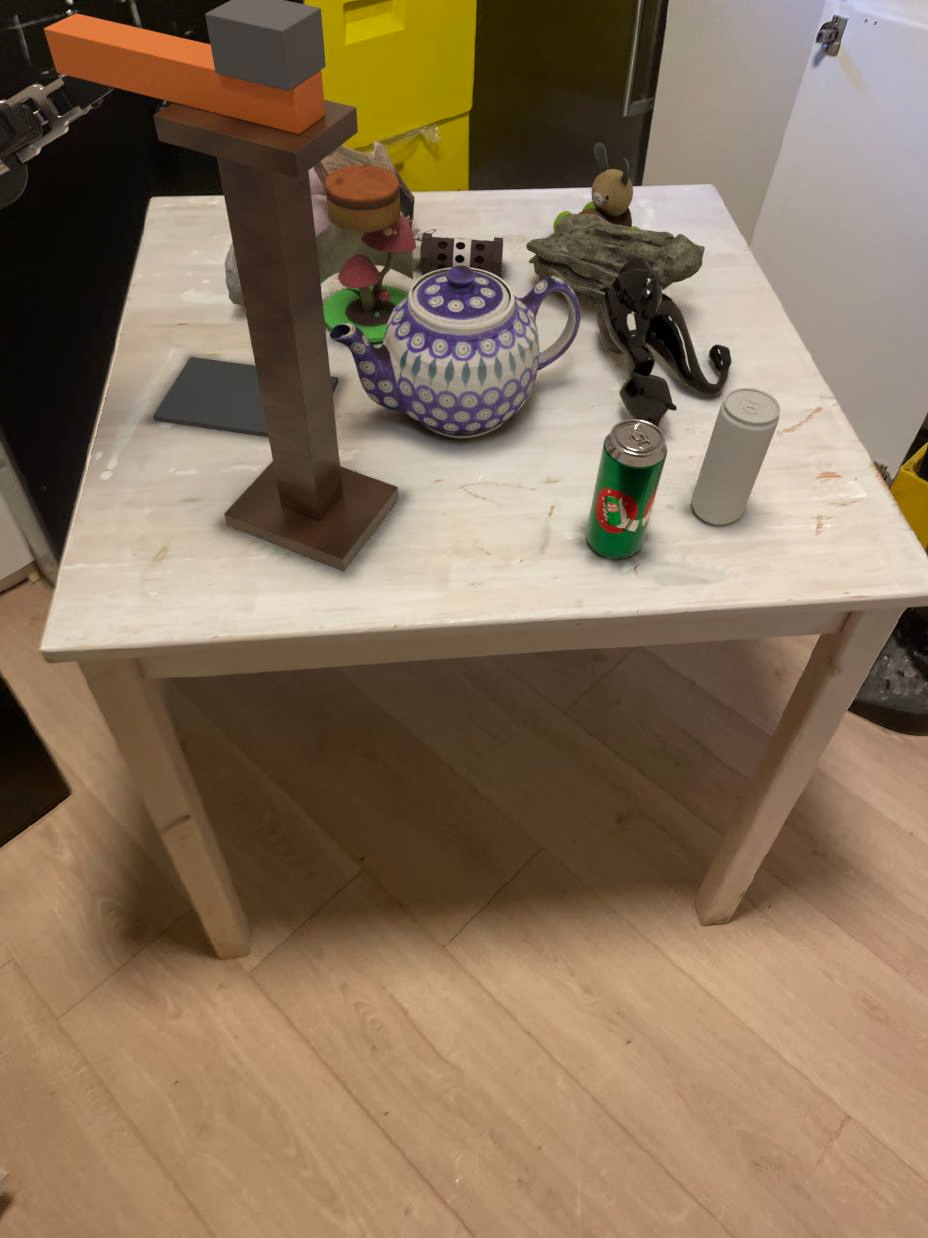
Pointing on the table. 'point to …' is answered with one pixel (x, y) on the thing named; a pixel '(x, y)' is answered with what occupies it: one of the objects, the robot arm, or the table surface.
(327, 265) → the mushroom terrarium
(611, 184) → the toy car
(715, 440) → the beverage can
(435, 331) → the teapot
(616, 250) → the stone
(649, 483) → the soda can
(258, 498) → the walnut stand
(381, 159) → the fragment
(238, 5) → the hammer with orange handle
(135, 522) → the table surface
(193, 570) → the table surface
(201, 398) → the grey mat
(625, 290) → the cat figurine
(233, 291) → the stone
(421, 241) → the brown holed brick
